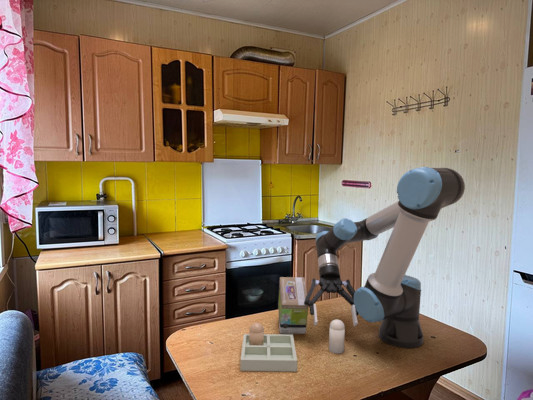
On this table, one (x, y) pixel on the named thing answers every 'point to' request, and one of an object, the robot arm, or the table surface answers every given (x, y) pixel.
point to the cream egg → (336, 336)
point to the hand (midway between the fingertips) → (335, 324)
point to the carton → (267, 351)
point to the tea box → (292, 305)
